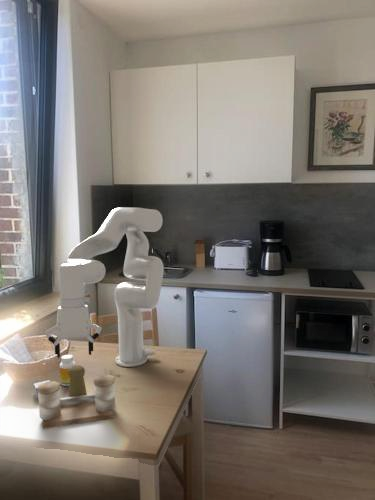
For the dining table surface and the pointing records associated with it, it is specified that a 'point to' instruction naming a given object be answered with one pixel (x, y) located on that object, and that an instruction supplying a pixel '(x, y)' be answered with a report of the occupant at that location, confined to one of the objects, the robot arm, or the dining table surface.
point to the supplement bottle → (66, 369)
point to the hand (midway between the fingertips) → (74, 354)
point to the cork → (77, 381)
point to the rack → (76, 403)
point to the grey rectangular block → (37, 388)
